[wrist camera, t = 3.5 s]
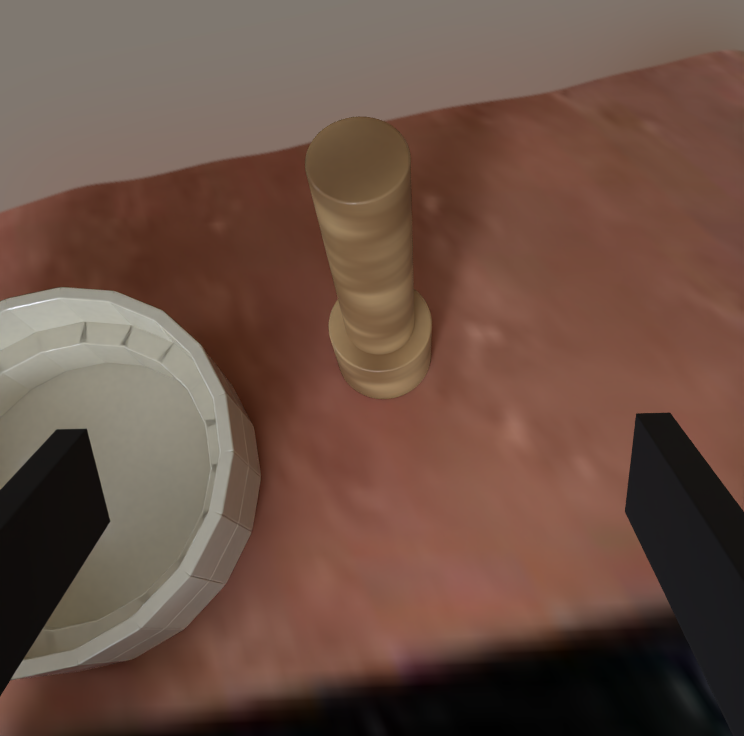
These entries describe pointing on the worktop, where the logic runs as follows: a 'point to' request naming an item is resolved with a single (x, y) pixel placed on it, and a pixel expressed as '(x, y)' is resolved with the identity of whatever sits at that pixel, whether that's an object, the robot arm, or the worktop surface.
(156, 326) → the mixing bowl
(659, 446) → the robot arm
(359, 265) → the wooden masher
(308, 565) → the worktop surface
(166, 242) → the worktop surface
